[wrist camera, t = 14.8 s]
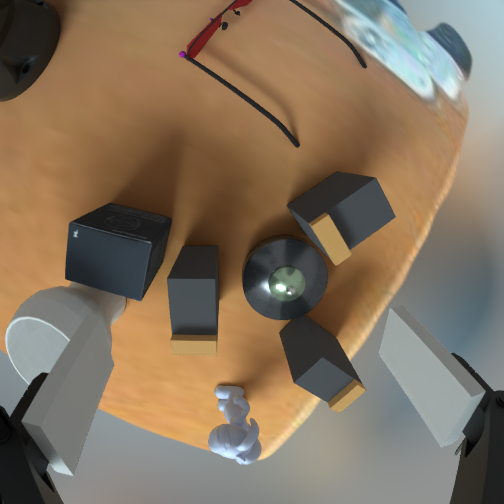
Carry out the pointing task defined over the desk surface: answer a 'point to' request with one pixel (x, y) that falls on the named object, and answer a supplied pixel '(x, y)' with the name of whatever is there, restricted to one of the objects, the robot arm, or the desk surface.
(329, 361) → the dark grey block
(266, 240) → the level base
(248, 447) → the toy figurine
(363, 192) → the dark grey tan-ended block
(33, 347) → the cup
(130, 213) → the box
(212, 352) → the grey tan block
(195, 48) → the glasses
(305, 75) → the desk surface
